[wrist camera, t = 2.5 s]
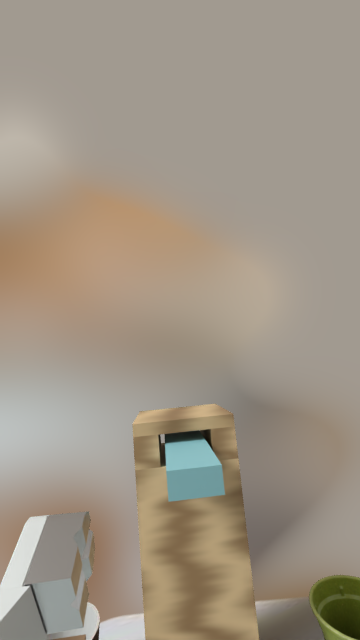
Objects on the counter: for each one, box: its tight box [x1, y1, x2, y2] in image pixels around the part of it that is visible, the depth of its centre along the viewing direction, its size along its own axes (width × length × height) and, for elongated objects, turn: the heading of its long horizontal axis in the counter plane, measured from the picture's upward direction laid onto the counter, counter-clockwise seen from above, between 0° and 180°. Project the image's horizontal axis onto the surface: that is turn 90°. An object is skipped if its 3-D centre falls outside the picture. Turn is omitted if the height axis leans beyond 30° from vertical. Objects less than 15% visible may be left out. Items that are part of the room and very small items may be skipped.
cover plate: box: [165, 430, 225, 502], centre depth 30 cm, size 4×18×2 cm, turn 3°
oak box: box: [133, 404, 259, 640], centre depth 32 cm, size 10×10×30 cm
